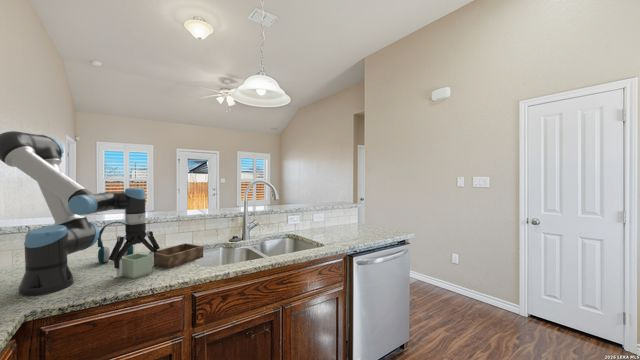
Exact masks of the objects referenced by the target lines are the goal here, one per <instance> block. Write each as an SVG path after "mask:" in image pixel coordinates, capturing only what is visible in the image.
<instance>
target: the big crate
mask: <svg viewBox="0 0 640 360" xmlns="http://www.w3.org/2000/svg"><path fill="white" fill-rule="evenodd" d="M202 258H204V246H203V245H197V244H192V243H181V244H178V245H174V246H170V247H165V248H162V249H161V248H160V249H158V250H157V252H155V258H154V266H153V267H159V268H162V269H167V270H169V269H173V268H175V267H178V266H181V265H183V264H187V263H191V262H193V261H196V260H199V259H202Z"/></svg>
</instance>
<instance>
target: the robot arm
mask: <svg viewBox="0 0 640 360" xmlns="http://www.w3.org/2000/svg"><path fill="white" fill-rule="evenodd" d="M63 154H64V147H63V145H62V143H61V142H60V141H59V140H57V139H56V138H54V137H52V136H48V135H45V134H34V133H29V132H28V133H27V132H22V131H17V130H16V131H15V130H12V131H5V132H2V133H0V161H1V162H2V163H4V164H6V165H7V166H9V167H11V168H12V167H13V168H17V169H18V170H20V171H21V172H22V173H24V174H26V175H27V176H29V177H30V178H31V179H32V180H35V182H37V185H38V187H39V189H40V191H41V194H42V196H43V198H44V201H45V203H46V205H47V207H48V209H49V212H50V213H51V216H52V218H53V221H54V223H53V225H49V226H42V227H38V228H35V229H32V230H30V231H28V232H27V233H26V234H25V236H24V242H23V244H24V245H23V246H24V267H25V268H24V269H25V270H24V274H23V277H22V279H21V282H20V284H19V286H18V295H20V296H23V297H24V296H25V297H30V296H39V295H46V294H50V293H54V292H58V291H60V290H64V289H66V288H68V287H70V286H72V285H73V284H74V275H73V273H72V271H71V269H70V266H69V264H68V255H71V254H74V253H77V252H80V251H84V250H87V249H88V248H91V247H92V246H94V245H95V244H96V243H98V238H99V232H100V228H99V227H98V225H97V224H96V223H93V222H91V221H89V220H88V218H87V216H86V215H90V214H91V215H92V214H94V213H101V212H107V211H113V210H116V211H117V210H119V211H120V210H123V211H124V215H125V218H124V219H125V220H124V223H126V225H124V227H125V228H124V229H125V230H124V231H125V235H123V236H117V239H116V243H115V245H114V246H113V248H112V251H111V252H110V257H109V261H112V262H113V267H114V269H115V271H116V276H117V277H123V276H122V260H120V259H121V258H122V257H123V255H124V254H125V252H126V251H127V250H128V248H129V247H130V246H131V245H133V246H135V245H137V244H139V245H140V244H142V245H144V246H145V247H146V248H147V249H148V250H149V251H148V255H151V256H152V268H153V267H155V266H154V258H155V252H157V250H161V247H160V246H159V243H158V242H157V240H156V238H155V236H154V232H153V231H152V230H147V224H146V219H147V218H146V214H147V213H146V202H147V201H146V200H147V197H146V196H147V195H146V190H145V188H143V187H128V188H125V189H124V192H109V191H107V192H106V191H105V192H99V193H92V192H91V191H89V190H88V189H86V188H85V187H84V186H83V185H81V184H79V183H78V182H77V181H75V180H74V179H72V178H71V177H69V176H68V175H67V174H65V173H63V171H62V169H61V167H60V164H62V162H63V161H62V158H63V156H64V155H63ZM146 230H147V231H146ZM146 237H147V238H148V240H149V241H150V242H148V240H147V239H146ZM125 240H126V241H125ZM128 243H129V244H128ZM122 245H123V246H122Z"/></svg>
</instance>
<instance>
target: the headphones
mask: <svg viewBox="0 0 640 360" xmlns="http://www.w3.org/2000/svg"><path fill="white" fill-rule="evenodd" d="M112 224H123V225H124V226H125V225H126V224H127V223H125V222H123V221H114V222H113V221H112V222H110V223H107V224H105V225H104V226H103V227H101V229H99V238H98V239H97V242H96V243H97V247H98V248H99V249H98V251H97V259H98V262H99V263H102V264H104V263H107V262H109V261H110V260H109V257H110V255H111V252H110V247H109V246H104V245H103V244H104V243H103V240H102V239H103V238H102V237H103V236H102V235H103V233H104V231H105V229H106V227H107V226H109V225H112ZM128 244H129V243H128ZM134 249H135V247H134V245H131V246H130V247H129V248H128V250H127V251H126V252H125V254H124V255H123V256H128V255H132V254H135V253H134V252H135V250H134ZM123 256H122V257H123Z"/></svg>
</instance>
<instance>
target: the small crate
mask: <svg viewBox="0 0 640 360" xmlns="http://www.w3.org/2000/svg"><path fill="white" fill-rule="evenodd" d="M120 260H122V276H121V277H124V278H127V279H131V280H135V279H138V278H142V277H146V276H149V275H151V274H153V267H152V256H151V255H149V254H146V253H141V252H136V253H133V254H132V255H128V256H122V258H121V259H120ZM145 275H146V276H145Z"/></svg>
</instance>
